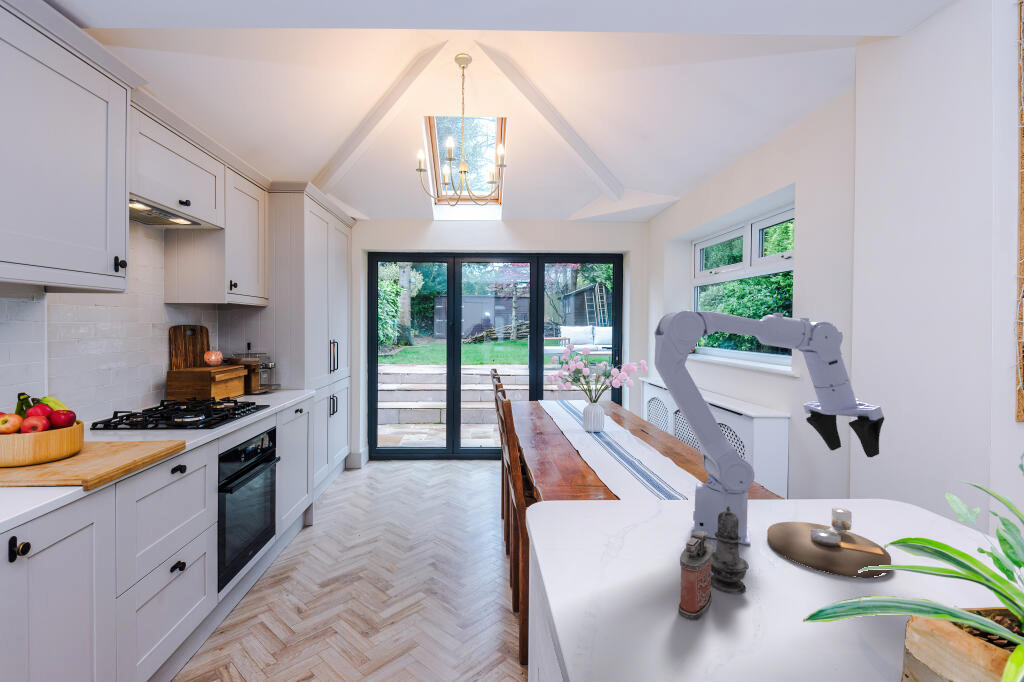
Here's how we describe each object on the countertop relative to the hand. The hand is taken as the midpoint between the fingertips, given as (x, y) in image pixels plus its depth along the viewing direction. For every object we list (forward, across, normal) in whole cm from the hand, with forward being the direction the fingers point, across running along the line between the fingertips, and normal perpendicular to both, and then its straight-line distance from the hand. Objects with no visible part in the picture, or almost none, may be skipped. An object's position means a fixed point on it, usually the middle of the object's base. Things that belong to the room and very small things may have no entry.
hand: (853, 451), depth 86 cm
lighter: (+4, -12, +45) cm, 47 cm away
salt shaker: (+6, -8, +38) cm, 39 cm away
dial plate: (+13, -2, +14) cm, 19 cm away
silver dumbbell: (+12, -1, +11) cm, 16 cm away
